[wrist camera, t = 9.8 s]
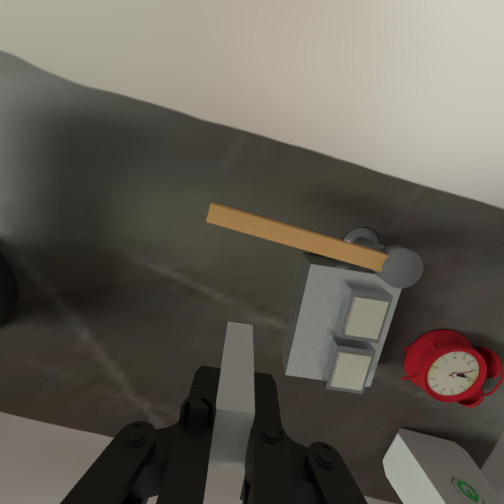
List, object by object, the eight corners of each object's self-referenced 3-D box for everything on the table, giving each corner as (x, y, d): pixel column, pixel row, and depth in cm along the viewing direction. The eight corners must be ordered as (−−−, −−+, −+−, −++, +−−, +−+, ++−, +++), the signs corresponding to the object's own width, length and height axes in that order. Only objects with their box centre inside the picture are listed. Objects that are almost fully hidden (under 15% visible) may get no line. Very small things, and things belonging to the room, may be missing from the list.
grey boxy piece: (281, 352, 42) (287, 386, 35) (310, 218, 37) (325, 226, 30) (356, 363, 43) (377, 399, 35) (395, 232, 38) (429, 244, 30)
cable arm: (379, 236, 37) (430, 256, 27) (368, 263, 38) (413, 292, 28) (223, 189, 35) (213, 192, 25) (216, 219, 36) (202, 233, 26)
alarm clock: (431, 329, 37) (547, 377, 35) (414, 312, 43) (512, 352, 42) (396, 390, 40) (503, 437, 38) (385, 365, 46) (476, 405, 44)
